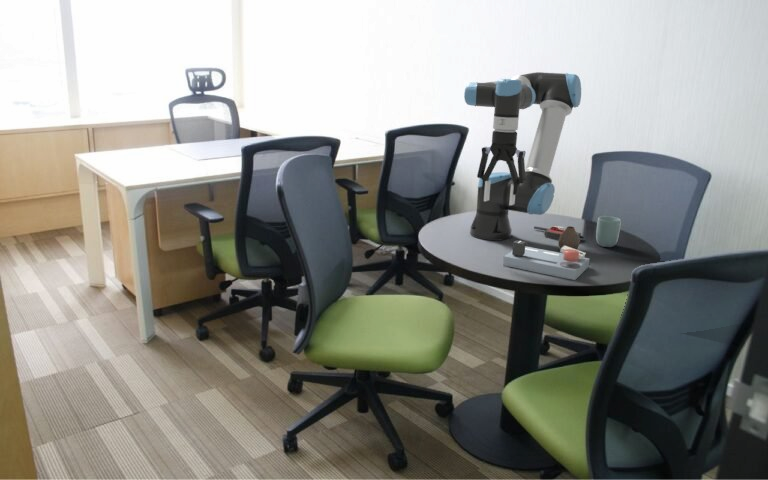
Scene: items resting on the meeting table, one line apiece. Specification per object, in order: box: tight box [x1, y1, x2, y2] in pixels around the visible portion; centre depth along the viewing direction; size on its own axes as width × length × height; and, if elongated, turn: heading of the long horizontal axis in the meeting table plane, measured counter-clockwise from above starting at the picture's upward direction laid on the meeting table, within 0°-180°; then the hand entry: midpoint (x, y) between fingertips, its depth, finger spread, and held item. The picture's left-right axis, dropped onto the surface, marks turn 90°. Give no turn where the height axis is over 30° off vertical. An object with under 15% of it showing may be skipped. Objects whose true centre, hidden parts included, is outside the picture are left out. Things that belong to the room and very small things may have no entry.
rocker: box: [559, 246, 587, 259], centre depth 202 cm, size 7×4×1 cm, turn 58°
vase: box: [558, 225, 581, 250], centre depth 218 cm, size 7×7×9 cm
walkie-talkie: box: [533, 225, 584, 241], centre depth 238 cm, size 9×4×20 cm
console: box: [502, 245, 590, 281], centre depth 203 cm, size 23×15×4 cm, turn 58°
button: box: [563, 249, 580, 262], centre depth 194 cm, size 4×4×3 cm
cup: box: [595, 215, 622, 248], centre depth 227 cm, size 8×8×10 cm
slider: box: [511, 240, 527, 256], centre depth 203 cm, size 3×3×4 cm
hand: (499, 202), depth 203 cm, fingers open, 8 cm apart
